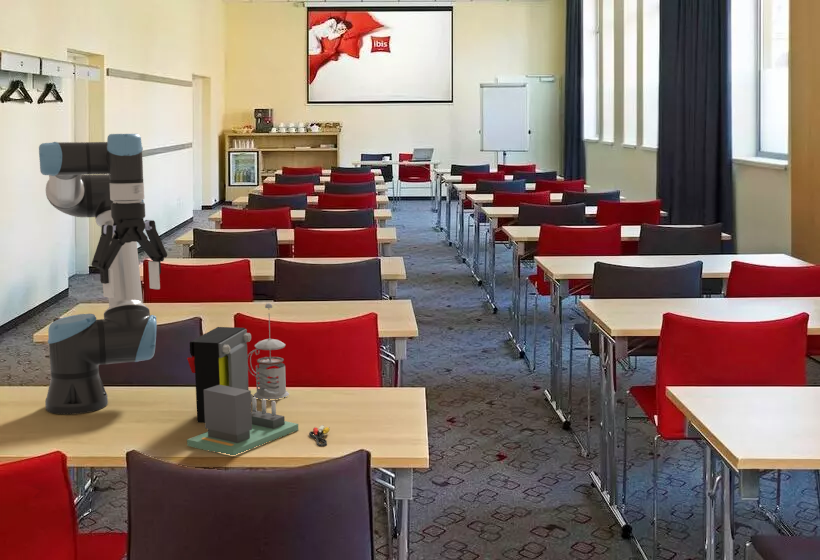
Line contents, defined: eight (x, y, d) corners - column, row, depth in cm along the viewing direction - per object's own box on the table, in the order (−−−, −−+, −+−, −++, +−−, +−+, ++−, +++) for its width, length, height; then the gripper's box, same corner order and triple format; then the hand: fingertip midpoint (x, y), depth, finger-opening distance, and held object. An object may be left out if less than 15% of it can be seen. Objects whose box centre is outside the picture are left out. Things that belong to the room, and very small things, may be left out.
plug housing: (252, 429, 214) (250, 390, 213) (236, 435, 210) (235, 396, 208) (220, 422, 219) (219, 384, 218) (205, 428, 215) (203, 389, 214)
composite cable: (327, 447, 213) (327, 437, 213) (306, 448, 213) (306, 437, 213) (330, 433, 223) (329, 423, 222) (309, 434, 223) (309, 423, 222)
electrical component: (229, 424, 229) (226, 343, 226) (189, 422, 231) (186, 341, 228) (255, 403, 246) (252, 328, 243) (218, 401, 248) (215, 326, 245)
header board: (187, 445, 214) (185, 413, 213) (253, 420, 232) (252, 390, 231) (233, 457, 206) (232, 423, 205) (298, 429, 225) (297, 399, 223)
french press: (278, 402, 248) (276, 307, 244) (239, 397, 252) (236, 305, 248) (296, 392, 257) (294, 301, 253) (258, 388, 261) (255, 298, 257)
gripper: (93, 206, 206) (99, 302, 209) (179, 198, 226) (183, 286, 230) (71, 204, 210) (77, 299, 213) (157, 197, 230) (161, 284, 234)
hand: (132, 293), depth 221 cm, fingers open, 13 cm apart
